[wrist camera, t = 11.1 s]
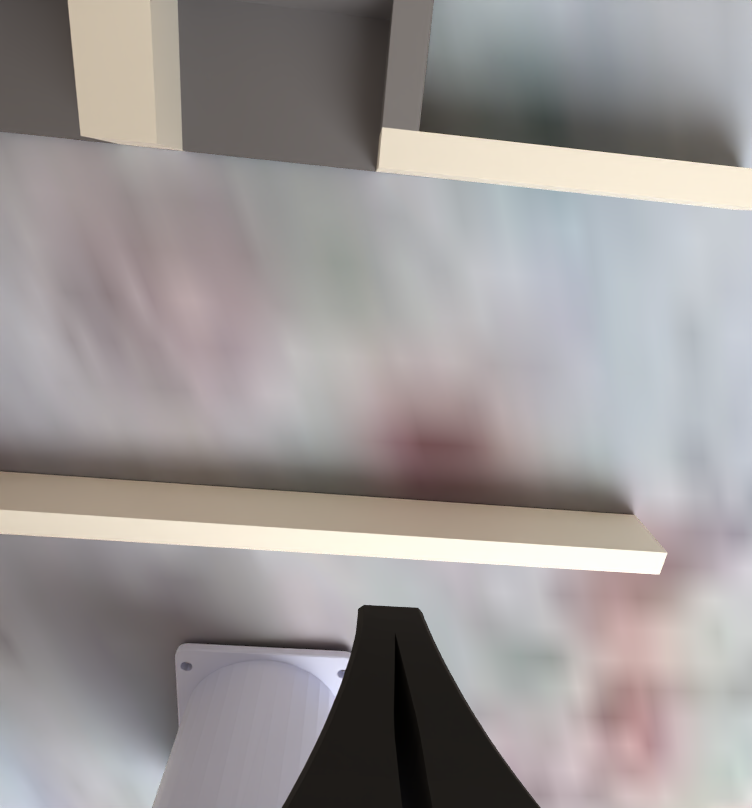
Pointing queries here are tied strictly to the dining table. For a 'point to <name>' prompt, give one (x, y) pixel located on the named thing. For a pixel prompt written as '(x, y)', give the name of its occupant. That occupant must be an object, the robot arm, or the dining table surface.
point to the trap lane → (316, 145)
